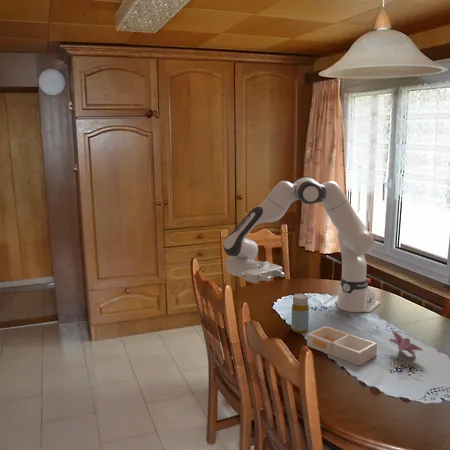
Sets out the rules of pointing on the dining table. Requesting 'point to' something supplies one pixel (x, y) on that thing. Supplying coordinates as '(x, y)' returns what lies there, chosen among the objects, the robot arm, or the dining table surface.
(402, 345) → the lily
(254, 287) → the dining table surface
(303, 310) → the bottle
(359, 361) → the caddy
